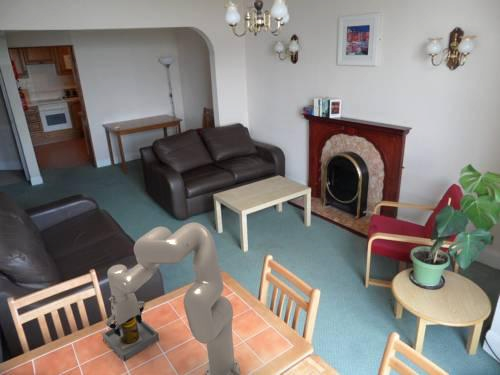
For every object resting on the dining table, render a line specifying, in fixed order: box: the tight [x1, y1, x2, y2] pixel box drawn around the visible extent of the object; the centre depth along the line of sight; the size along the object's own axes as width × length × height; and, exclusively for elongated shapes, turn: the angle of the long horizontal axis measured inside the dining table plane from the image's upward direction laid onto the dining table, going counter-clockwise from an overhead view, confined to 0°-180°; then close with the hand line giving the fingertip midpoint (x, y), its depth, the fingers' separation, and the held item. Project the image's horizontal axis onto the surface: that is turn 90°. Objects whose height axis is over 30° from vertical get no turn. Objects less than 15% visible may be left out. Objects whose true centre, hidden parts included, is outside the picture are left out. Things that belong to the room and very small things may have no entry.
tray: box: [101, 316, 160, 362], centre depth 157 cm, size 18×16×3 cm
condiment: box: [117, 317, 142, 349], centre depth 154 cm, size 7×8×12 cm
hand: (129, 328), depth 155 cm, fingers open, 9 cm apart
